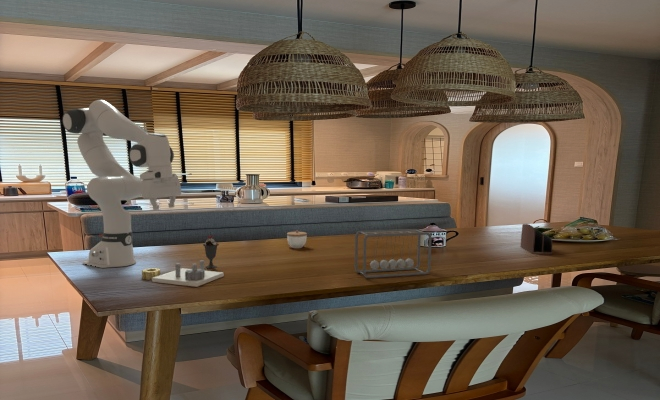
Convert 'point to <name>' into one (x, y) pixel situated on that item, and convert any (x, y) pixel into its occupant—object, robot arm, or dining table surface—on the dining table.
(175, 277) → the gear board
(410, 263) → the newton's cradle
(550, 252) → the letter holder
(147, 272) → the gear
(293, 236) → the lidded jar
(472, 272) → the dining table surface
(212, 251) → the sundae
